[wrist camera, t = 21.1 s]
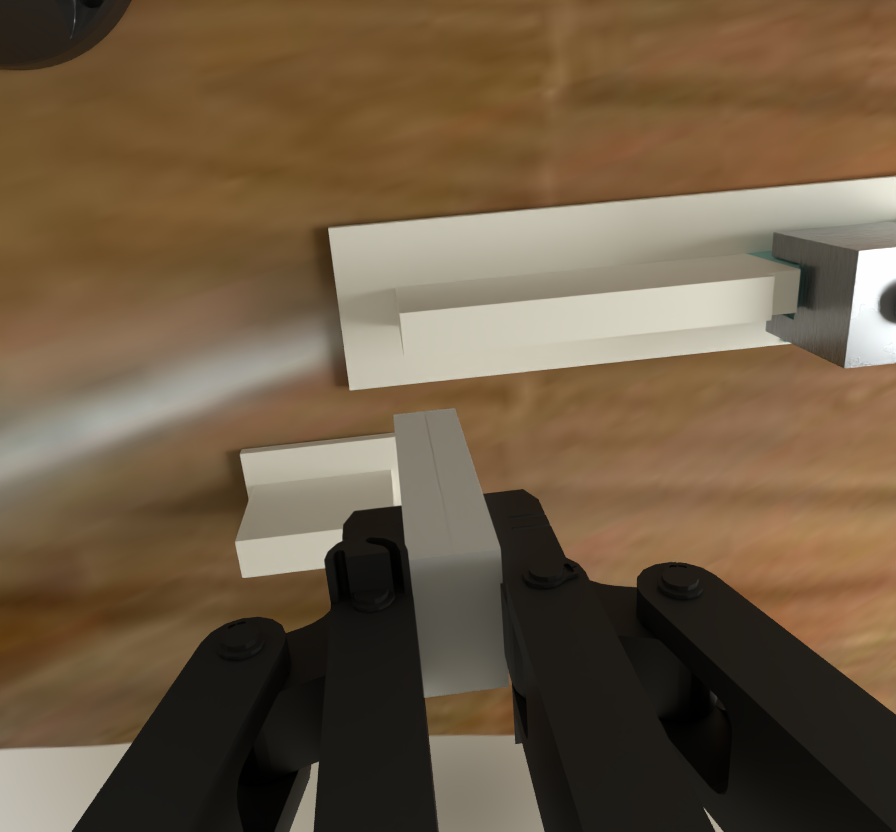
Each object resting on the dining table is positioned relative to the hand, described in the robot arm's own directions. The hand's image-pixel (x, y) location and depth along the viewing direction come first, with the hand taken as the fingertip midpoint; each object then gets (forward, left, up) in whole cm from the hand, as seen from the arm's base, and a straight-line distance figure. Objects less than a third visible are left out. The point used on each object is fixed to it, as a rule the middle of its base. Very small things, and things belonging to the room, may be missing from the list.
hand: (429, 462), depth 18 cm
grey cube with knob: (+2, +26, -25) cm, 36 cm away
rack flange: (+2, +14, -28) cm, 32 cm away
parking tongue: (+14, -6, -28) cm, 32 cm away
